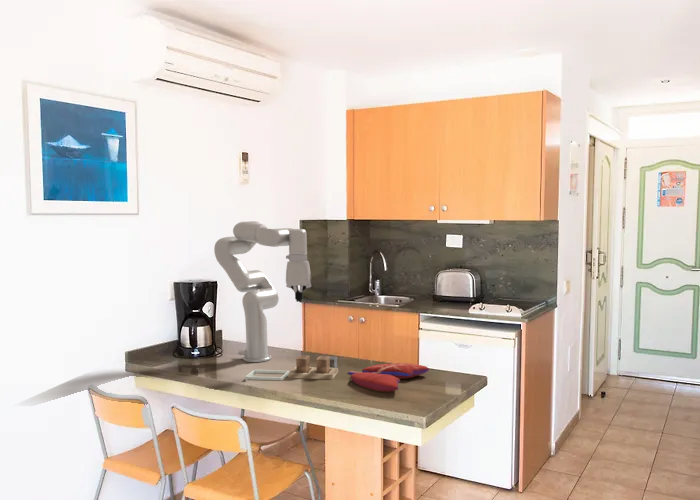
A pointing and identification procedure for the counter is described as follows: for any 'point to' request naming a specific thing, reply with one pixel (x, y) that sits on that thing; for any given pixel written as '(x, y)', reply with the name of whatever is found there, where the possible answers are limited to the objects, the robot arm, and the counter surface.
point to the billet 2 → (323, 364)
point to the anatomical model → (386, 375)
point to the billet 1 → (303, 364)
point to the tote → (250, 376)
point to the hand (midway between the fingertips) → (299, 301)
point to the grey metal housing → (333, 362)
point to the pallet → (313, 374)
